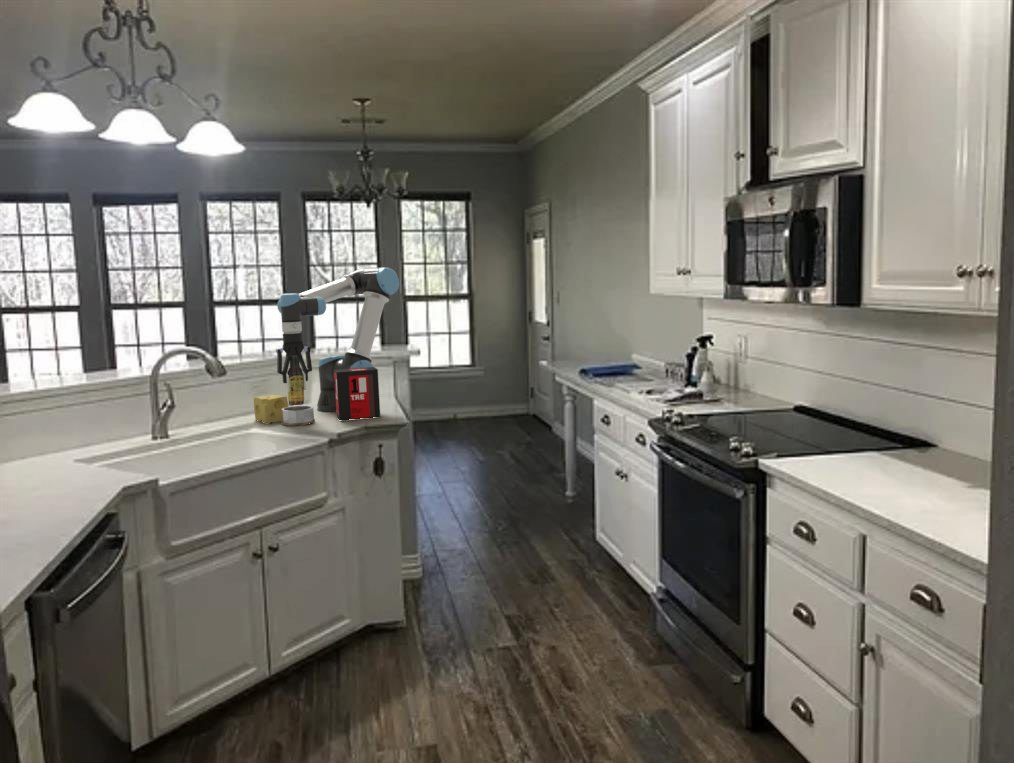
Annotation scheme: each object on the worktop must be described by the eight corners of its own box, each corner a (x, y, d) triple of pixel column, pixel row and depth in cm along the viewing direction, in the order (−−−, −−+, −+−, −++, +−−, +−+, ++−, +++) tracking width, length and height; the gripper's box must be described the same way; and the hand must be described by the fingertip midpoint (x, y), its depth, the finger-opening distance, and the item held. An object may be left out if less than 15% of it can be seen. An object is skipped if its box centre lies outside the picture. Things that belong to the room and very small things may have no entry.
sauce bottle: (291, 406, 340) (287, 356, 337) (286, 404, 345) (282, 355, 342) (307, 404, 343) (303, 355, 340) (302, 402, 348) (298, 353, 345)
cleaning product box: (339, 421, 346) (336, 372, 343) (336, 417, 354) (333, 369, 351) (380, 417, 351) (377, 369, 348) (376, 414, 359) (374, 367, 356)
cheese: (265, 424, 346) (263, 399, 344) (253, 420, 354) (252, 396, 352) (289, 420, 353) (287, 396, 351) (277, 417, 361) (275, 393, 359)
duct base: (311, 418, 354) (311, 416, 354) (317, 423, 342) (317, 421, 342) (279, 421, 349) (279, 419, 349) (284, 427, 337) (284, 424, 337)
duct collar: (310, 416, 353) (310, 404, 352) (316, 421, 342) (315, 409, 341) (280, 419, 348) (279, 407, 348) (285, 424, 337) (284, 412, 337)
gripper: (270, 334, 332) (274, 393, 335) (318, 331, 341) (322, 388, 345) (265, 333, 339) (269, 391, 342) (312, 330, 348) (316, 386, 351)
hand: (296, 390), depth 343 cm, fingers closed on sauce bottle, 6 cm apart
